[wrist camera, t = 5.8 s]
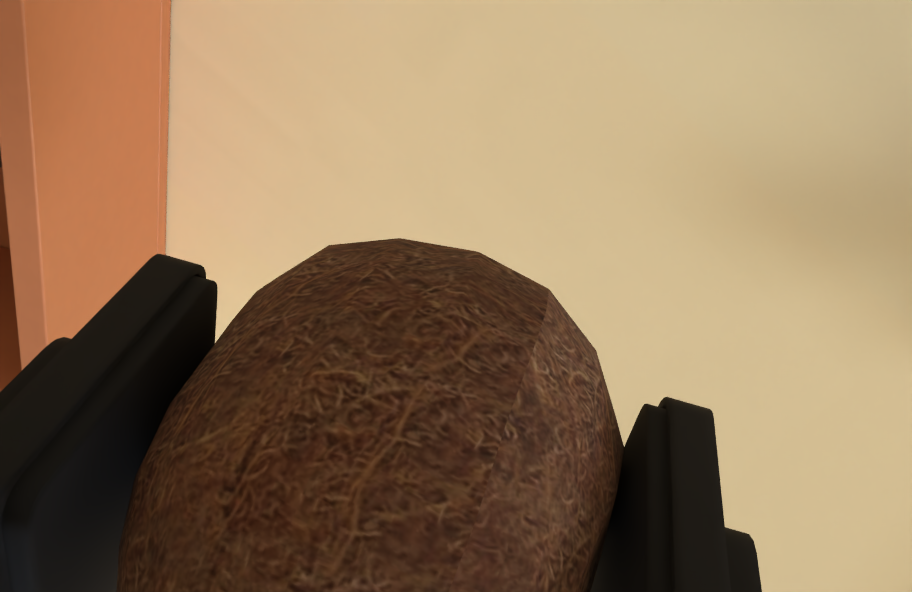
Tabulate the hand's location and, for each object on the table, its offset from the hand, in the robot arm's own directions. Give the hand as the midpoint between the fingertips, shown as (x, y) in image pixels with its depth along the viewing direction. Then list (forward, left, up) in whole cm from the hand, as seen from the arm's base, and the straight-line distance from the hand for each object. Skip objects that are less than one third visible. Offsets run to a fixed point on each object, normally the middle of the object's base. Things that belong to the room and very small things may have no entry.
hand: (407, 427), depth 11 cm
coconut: (0, 0, -3) cm, 3 cm away
